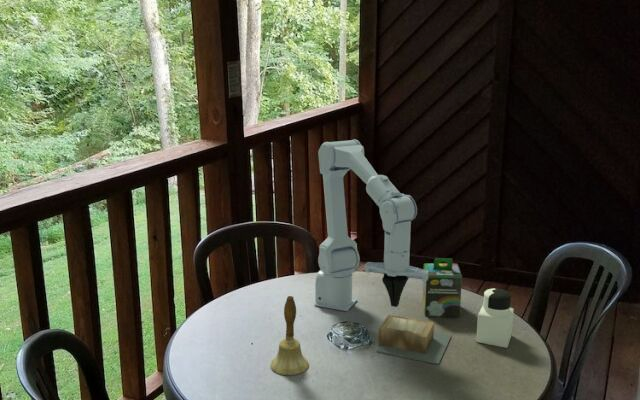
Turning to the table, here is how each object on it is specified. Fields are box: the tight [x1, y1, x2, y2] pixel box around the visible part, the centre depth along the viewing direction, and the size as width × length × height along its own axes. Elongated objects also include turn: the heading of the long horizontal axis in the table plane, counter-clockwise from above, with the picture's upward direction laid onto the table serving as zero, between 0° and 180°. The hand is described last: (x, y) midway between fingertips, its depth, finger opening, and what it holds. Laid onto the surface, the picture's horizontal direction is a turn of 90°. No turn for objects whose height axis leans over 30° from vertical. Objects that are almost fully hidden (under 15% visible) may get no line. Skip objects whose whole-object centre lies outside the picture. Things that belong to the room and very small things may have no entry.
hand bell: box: [270, 295, 310, 376], centre depth 125 cm, size 8×8×16 cm
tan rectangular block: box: [377, 314, 435, 354], centre depth 137 cm, size 4×8×11 cm
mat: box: [376, 332, 452, 366], centre depth 136 cm, size 14×14×1 cm
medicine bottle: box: [475, 287, 515, 349], centre depth 138 cm, size 7×7×12 cm
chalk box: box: [422, 257, 463, 319], centre depth 153 cm, size 9×9×15 cm
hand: (395, 304), depth 136 cm, fingers closed
